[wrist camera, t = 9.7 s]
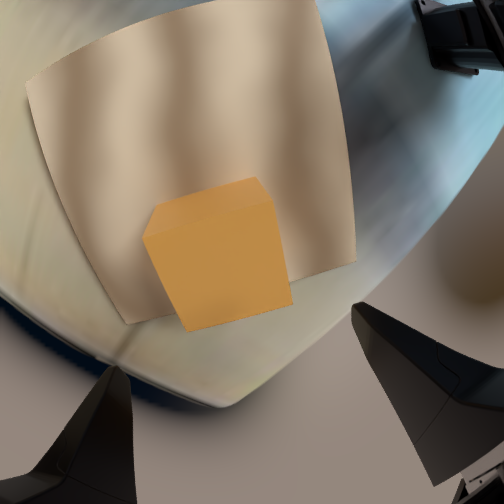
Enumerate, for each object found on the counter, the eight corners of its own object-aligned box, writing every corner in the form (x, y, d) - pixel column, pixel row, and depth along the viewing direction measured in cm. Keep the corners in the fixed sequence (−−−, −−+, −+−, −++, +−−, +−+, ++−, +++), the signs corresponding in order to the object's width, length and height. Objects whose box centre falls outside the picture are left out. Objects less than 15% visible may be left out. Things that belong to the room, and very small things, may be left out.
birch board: (303, -1, 12) (336, -29, 8) (347, 251, 21) (378, 288, 17) (36, 83, 11) (-8, 82, 7) (130, 312, 21) (118, 358, 17)
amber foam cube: (255, 176, 16) (272, 200, 12) (274, 262, 19) (292, 304, 15) (156, 204, 16) (141, 238, 12) (188, 285, 19) (187, 332, 15)
